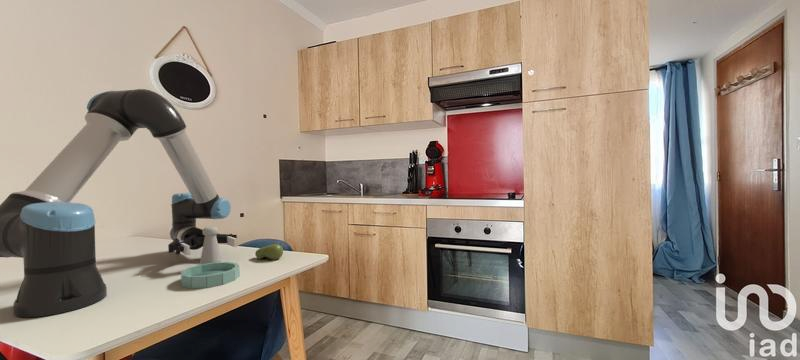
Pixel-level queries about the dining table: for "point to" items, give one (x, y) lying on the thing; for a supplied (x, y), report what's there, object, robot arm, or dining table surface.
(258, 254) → the pear
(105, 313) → the dining table surface
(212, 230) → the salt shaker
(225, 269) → the dish
